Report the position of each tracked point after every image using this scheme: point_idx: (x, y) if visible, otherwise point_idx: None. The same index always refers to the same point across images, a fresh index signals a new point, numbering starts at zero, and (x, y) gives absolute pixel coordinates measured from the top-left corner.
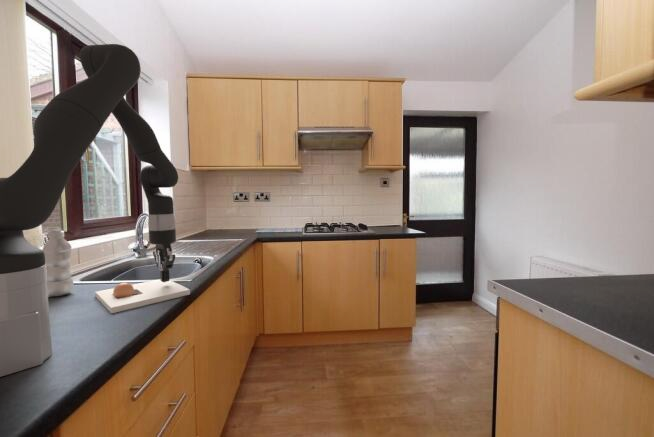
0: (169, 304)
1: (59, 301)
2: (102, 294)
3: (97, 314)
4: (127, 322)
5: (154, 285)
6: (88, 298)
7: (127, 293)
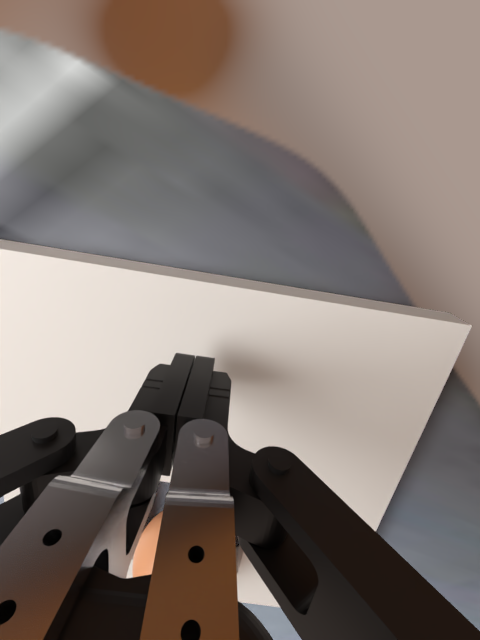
0: (472, 455)
1: None
2: None
3: None
4: (475, 593)
5: (135, 395)
6: None
7: None
